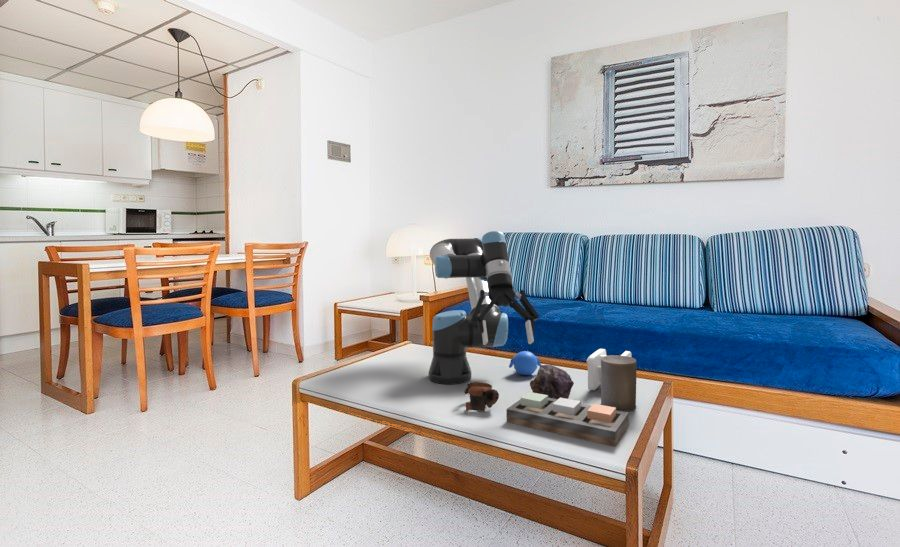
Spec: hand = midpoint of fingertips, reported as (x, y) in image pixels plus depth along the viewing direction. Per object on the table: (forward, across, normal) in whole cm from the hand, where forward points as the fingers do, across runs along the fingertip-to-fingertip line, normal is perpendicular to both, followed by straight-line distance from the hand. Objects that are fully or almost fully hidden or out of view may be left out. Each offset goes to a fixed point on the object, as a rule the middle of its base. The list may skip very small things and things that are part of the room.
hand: (508, 343), depth 132 cm
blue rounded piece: (-1, +16, +36) cm, 40 cm away
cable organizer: (+10, +37, +17) cm, 42 cm away
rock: (+12, +17, +15) cm, 26 cm away
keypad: (+23, +12, -3) cm, 26 cm away
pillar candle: (+18, +32, +5) cm, 37 cm away
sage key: (+17, +5, +1) cm, 18 cm away
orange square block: (+23, +18, -10) cm, 31 cm away
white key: (+20, +12, -5) cm, 24 cm away
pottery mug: (+15, -7, +12) cm, 21 cm away
